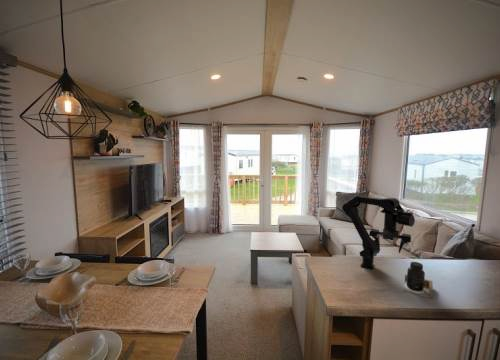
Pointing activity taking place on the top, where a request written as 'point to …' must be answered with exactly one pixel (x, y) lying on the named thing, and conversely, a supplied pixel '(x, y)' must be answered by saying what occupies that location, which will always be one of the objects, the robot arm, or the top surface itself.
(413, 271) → the supplement bottle
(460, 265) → the top surface
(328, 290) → the top surface
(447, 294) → the top surface
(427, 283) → the corner arena
